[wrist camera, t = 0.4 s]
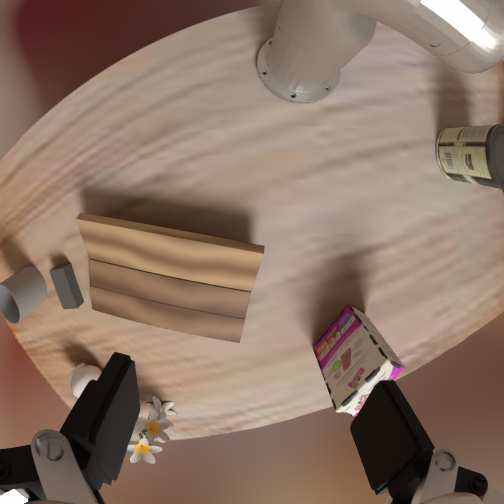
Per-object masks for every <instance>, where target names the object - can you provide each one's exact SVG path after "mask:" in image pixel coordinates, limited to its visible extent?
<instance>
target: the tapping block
mask: <svg viewBox="0 0 504 504" xmlns="http://www.w3.org/2000/svg"><path fill="white" fill-rule="evenodd" d="M50 274H51V277H52V280H53V283H54V286H55V289H56V291H57V294H58V297H59V299H60V302H61V305H62V307H63V309H74V308H78V307H79V306H80V305H81V304H82V303H83V302H84V300H83V297H82V295H81V292H80V289H79V286H78V283H77V280H76V277H75V274H74V271H73V268H72V265H71V263H69V264H63V265H58V266H56V267H54V268H53V269H51V270H50Z"/></svg>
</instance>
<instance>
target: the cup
mask: <svg viewBox="0 0 504 504" xmlns="http://www.w3.org/2000/svg"><path fill="white" fill-rule="evenodd" d="M47 295H48V293H47V285H46V282H45V279H44V278H43V276H42V275H41V273H40V272H39V271H38V270H37V269H36V268H34V267H32V266H27V267H25V268H24V269H22V270H21V271H19V272H17V273H16V274H14V275H12V276H11V277H9V278H8V279H6V280H5V281H3V282H2V283H0V312H1V313H2V315H3V316H4V318H6V319H7V320H8V321H9V322H10V323H13V324H17V323H19V322H20V321H21V320H23V319H24V318H25V317H26V316H27V315H28V314H29V313H31V312H32V311H33V310H34V309H35V308H36V307H38V306H39V305H40V304H41V303H42V302H44V301H45V300H46V297H47Z"/></svg>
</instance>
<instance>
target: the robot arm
mask: <svg viewBox="0 0 504 504" xmlns="http://www.w3.org/2000/svg"><path fill="white" fill-rule="evenodd" d="M376 21H378V22H380V23H382V24H384V25H386V26H389V27H391V28H393V29H395V30H396V31H398V32H400V33H401V34H403V35H405V36H406V37H408V38H409V39H411V40H413V41H414V42H416V43H417V44H419V45H420V46H422V47H423V48H425V49H426V50H427V51H429V52H430V53H432V54H433V55H434V56H436V57H437V58H439V59H440V60H441V61H443V62H444V63H446V64H447V65H449V66H451V67H452V68H454V69H456V70H458V71H461V72H464V73H471V74H474V73H481V72H484V71H486V70H488V69H490V68H492V67H493V66H495V65H496V64H497V63H499V62H500V61H501V60H502V59H503V58H504V0H282V1H281V5H280V9H279V14H278V18H277V22H276V26H275V30H274V35H273V37H272V38H270V39H269V40H268V41H266V42H265V43H264V45H263V46H262V47H261V49H260V51H259V54H258V58H257V69H258V74H259V76H260V78H261V80H262V82H263V83H264V84H265V86H266V87H267V88H268V89H269V90H270V91H271V92H272V93H274V94H275V95H277V96H278V97H281V98H283V99H285V100H288V101H291V102H296V103H311V102H315V101H318V100H321V99H323V98H325V97H326V96H327V95H329V94H330V93H331V92H332V91H333V90H334V89H335V87H336V86H337V84H338V81H339V77H340V69H341V68H342V67H344V66H345V65H346V64H347V63H348V62H349V61H350V60H351V59H352V58H353V57H354V56H356V55H357V54H358V53H359V52H360V51H361V50H362V49H363V48H364V47H365V46H367V44H368V43H369V42H370V41H371V39H372V38H373V36H374V33H375V29H376ZM270 44H271V45H270ZM263 73H266V75H263ZM325 88H326V89H327V90H328V91H327V90H326V89H325ZM291 96H294V98H292V97H291ZM139 413H140V402H139V395H138V387H137V379H136V369H135V362H134V361H133V360H131V358H130V356H129V355H125V354H121V353H117V352H114V353H113V355H112V356H111V358H110V360H109V361H108V363H107V365H106V366H105V368H104V369H103V371H102V373H101V374H100V376H99V378H98V379H97V380H94V379H92V380H90V381H89V382H88V383H87V385H86V387H85V388H84V390H83V392H82V393H81V395H80V397H79V398H78V400H77V402H76V403H75V405H74V407H73V408H72V410H71V412H70V414H69V415H68V417H67V419H66V421H65V423H64V424H63V426H62V428H61V430H60V431H59V432H58V431H55V430H51V429H50V430H49V429H45V430H42V431H39V432H38V433H36V434H35V435H34V436H33V438H32V441H31V445H26V446H20V447H14V448H7V449H0V504H106V502H105V501H104V499H103V497H102V495H101V493H100V491H99V490H100V489H101V487H102V484H103V483H106V484H109V485H110V484H111V482H112V480H117V478H118V475H119V472H120V469H121V466H122V463H123V459H124V457H125V453H126V450H127V448H128V445H129V442H130V439H131V436H132V433H133V430H134V427H135V424H136V422H137V419H138V416H139ZM350 430H351V433H352V436H353V439H354V441H355V444H356V447H357V449H358V453H359V455H360V458H361V461H362V463H363V466H364V469H365V472H366V475H367V478H368V481H369V483H370V486H371V488H372V490H375V493H376V495H379V494H383V493H386V492H388V491H389V494H390V496H389V498H388V500H387V503H386V504H504V495H503V494H502V493H500V492H499V491H497V490H496V489H494V488H493V487H491V486H489V487H488V483H487V480H486V478H485V477H484V476H483V475H482V474H480V473H477V472H474V471H471V470H468V469H465V468H462V467H459V466H458V459H457V457H456V455H455V454H454V453H453V452H452V451H450V450H448V449H439V450H437V451H435V453H433V449H434V448H435V447H434V445H433V444H432V442H431V440H430V438H429V437H428V435H427V433H426V431H425V430H424V428H423V426H422V425H421V423H420V421H419V420H418V418H417V416H416V415H415V413H414V411H413V410H412V408H411V407H410V405H409V403H408V402H407V400H406V398H405V397H404V395H403V394H402V392H401V390H400V389H399V387H398V386H397V384H396V383H395V381H394V380H380V381H379V382H378V383H377V384H375V386H374V387H373V389H372V391H371V392H370V394H369V396H368V398H367V399H366V401H365V403H364V404H363V406H362V408H361V409H360V411H359V412H358V414H357V416H356V417H355V419H354V420H353V422H352V424H351V427H350Z"/></svg>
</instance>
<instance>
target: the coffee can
mask: <svg viewBox="0 0 504 504" xmlns="http://www.w3.org/2000/svg"><path fill="white" fill-rule="evenodd" d="M436 157H437V161H438V164H439V167H440V169H441V171H442V172H443V173H444V175H445V176H446V177H447V178H449V179H451V180H454V181H463V182H469V183H474V184H480V185H485V186H490V187H495V188H500V189H502V190H504V125H503V124H497V125H487V126H470V127H457V128H446V129H444V130H443V131H441V133H440V134H439V136H438V138H437V142H436Z"/></svg>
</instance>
